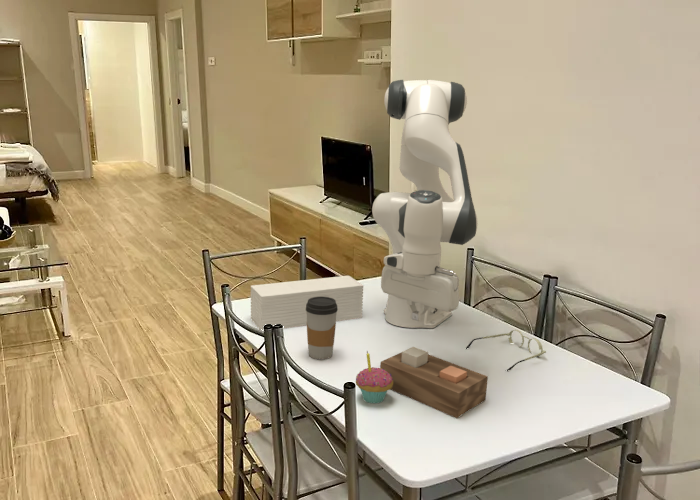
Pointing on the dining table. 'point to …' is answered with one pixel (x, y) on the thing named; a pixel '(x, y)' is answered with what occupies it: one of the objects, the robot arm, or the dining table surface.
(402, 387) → the walnut key panel
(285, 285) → the stack of papers
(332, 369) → the dining table surface
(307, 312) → the coffee cup
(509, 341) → the round eyeglasses
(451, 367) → the terracotta key
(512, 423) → the dining table surface
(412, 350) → the cream white cube
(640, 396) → the dining table surface
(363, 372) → the cupcake
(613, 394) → the dining table surface
